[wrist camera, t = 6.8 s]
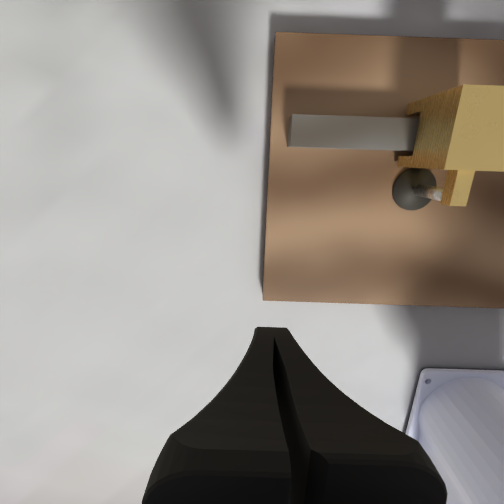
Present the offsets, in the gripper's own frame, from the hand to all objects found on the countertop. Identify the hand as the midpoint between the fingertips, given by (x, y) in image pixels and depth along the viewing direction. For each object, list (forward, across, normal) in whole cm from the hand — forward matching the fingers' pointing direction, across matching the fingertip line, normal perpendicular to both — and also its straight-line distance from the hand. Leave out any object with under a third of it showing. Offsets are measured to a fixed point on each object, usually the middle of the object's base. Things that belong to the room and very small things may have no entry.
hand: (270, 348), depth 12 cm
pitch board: (+9, -10, -6) cm, 15 cm away
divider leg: (+8, -9, -8) cm, 15 cm away
